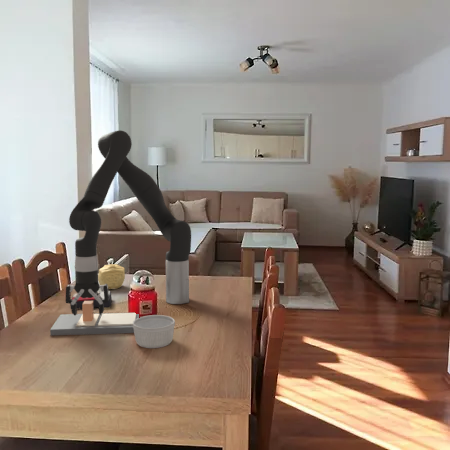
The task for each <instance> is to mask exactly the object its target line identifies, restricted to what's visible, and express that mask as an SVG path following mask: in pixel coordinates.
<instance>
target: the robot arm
mask: <svg viewBox="0 0 450 450" xmlns="http://www.w3.org/2000/svg"><path fill="white" fill-rule="evenodd" d="M132 145H133V144H132V137H131V136H130V135H129V133H128V132H126V131H124V130H121V129H120V130H114V131H111V132H108V133H106V134H104V135H102V136H100V137H99V138H98V141H97V147H98V151H99V153H100V154H101V156H102V157H103V158H104V160H103V162H102V164H101V165H100V167H99V168H98V169H97V171H96V172H95V173H94V174H93V175H92V177H91V178H90V180H89V182H88V184H87V187H86V189H85V191H84V194H83V197H82V198H81V199H80V200H79V201H78V202H77V204H76V205H75V207H74V208H73V209H72V210H71V212H70V215H69V218H68V223H69V226H70V227H71V228H72V229H73V230H74V231H82V232H83V231H84V232H85V233H84V236H83V237H79V238H77V239H76V240H75V241H74V242H75V243H74V245H75V246H74V249H75V251H74V252H75V253H74V254H75V255H74V256H75V258H74V259H75V260H74V271H75V272H74V275H75V276H74V277H75V278H74V279H75V284H74V285H71V284H67V285H66V287H65V303H66V304H69V305H70V304H71V306H72V309H71V314H74V315H76V314H78V309H77V303H76V301H77V300H78V299H79V297H82V298H92V297H94V298H95V299H96V300H97V301H98V302H99V307H98V313H99V315H101V314H102V313H104V311H105V308H104V303H106V302H108V300H109V293H108V291H109V289H108V284H105V285H100V284H99V281H98V274H99V262H98V261H99V260H98V249H97V248H98V247H97V246H98V245H97V244H98V239H99V235H100V230H101V226H102V217H101V215H100V214H99V212H98V211H95V210H96V209H100V208H102V206H103V204H104V203H105V200H106V197H107V195H108V193H109V190H110V188H111V185H112V183H113V181H114V179H115V177H116V176H117V173H118V175H119V176H120V177H121V178H122V180H123V181H124V183H125V184H126V185H127V186H128V188H129V189H130V191H131V192H132V194H133V195H134V197H135V198H136V199H137V200H138V202H139V203H140V204H141V205H142V207H143V208H144V209H145V211H146V212H147V213H148V214H149V215H150V217H151V218H152V220H153V221H154V223H155V224H156V226H157V228H158V229H159V231H160V233H161V235H162V236H163V238H164V239H165V240H167V241H168V242H170V243H169V244H170V245H169V251H166V253H165V302H166V303H167V304H171V305H181V304H188V303H189V304H190V279H189V277H190V274H189V273H190V270H189V266H190V264H189V263H190V262H189V260H190V259H189V258H190V254H191V250H192V229H191V226H190V224H189V223H188V222H186V221H184V220H182V219H181V220H180V219H177V218H176V217H175V216H174V215H173V213H171V211H170V210H169V209H168V207H167V206H166V203H165V199H164V198H165V197H164V195H163V192H162V190H161V189H160V187H159V186H158V184H157V182H156V181H155V180H154V179H153V177H152V176H151V175H150V174H148V173H147V172H146V171H144V170H143V169H142V168H140V167H138V166H136V165H135V164H134V163H133V162H131V161H130V159H129V158H128V157H127V156H128V155H129V153H130V151H131V149H132ZM99 290H101V292H104V299H102V297H101V296H100V294H99V293H100V292H99ZM73 291H75V293H76V294H77V293H78V294H77V295H76V297H75V298H74V299H73V300H72V297H71V293H72V292H73ZM98 292H99V293H98ZM71 306H70V307H71Z"/></svg>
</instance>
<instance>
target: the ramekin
mask: <svg viewBox="0 0 450 450" xmlns="http://www.w3.org/2000/svg"><path fill="white" fill-rule="evenodd" d="M175 326H176V321H175V319H174V318H173V317H172V316H169V315H163V314H152V315H150V314H149V315H144V316H140V318H137V319H136V320H134V321H133V328H134V333H133V334H134V339H135V342H136V344H137V345H138V346H140V347H142V348H144V349H145V348H147V349H159V348H164V347H167V346H169V345H170V344H171V342H172V341H173V339H174V332H175V331H174V330H175Z"/></svg>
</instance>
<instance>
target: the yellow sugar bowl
mask: <svg viewBox="0 0 450 450" xmlns="http://www.w3.org/2000/svg"><path fill="white" fill-rule="evenodd" d="M125 270H126V269H125V267H123V266H121V265H119V264H118V263H115V264H112V263H110V264H104V266H103V267H101V268H98V283H99V285H105V284H108V290H117V289H120V288H121V287H122V286H123V284H124V282H125V280H126V274H125Z"/></svg>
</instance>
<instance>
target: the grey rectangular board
mask: <svg viewBox="0 0 450 450" xmlns="http://www.w3.org/2000/svg"><path fill="white" fill-rule="evenodd" d="M82 314H83V313H77V314H76V315H74V314H72V313H70V314H67V313H66V314H65V313H64V314H62V313H61V314H60V315H59V316H58V317H57V318H56V320H55V322H54V324H52V327H51V328H50V329H49V331H50V333H49V334H50V336H70V335H72V336H74V335H75V336H76V335H79V336H80V335H104V334H105V335H106V334H110V335H111V334H134V328H133V321H134V320H136V319H137V318H139V314H136V313H135V312H106V313H104V312H103V313H102V314H101V315H99V317H98V320H97V322H96V324H95V326H76V325H77V323H78V321H79V320H80V318H81V316H82ZM96 314H99V312H98V313H96Z"/></svg>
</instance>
